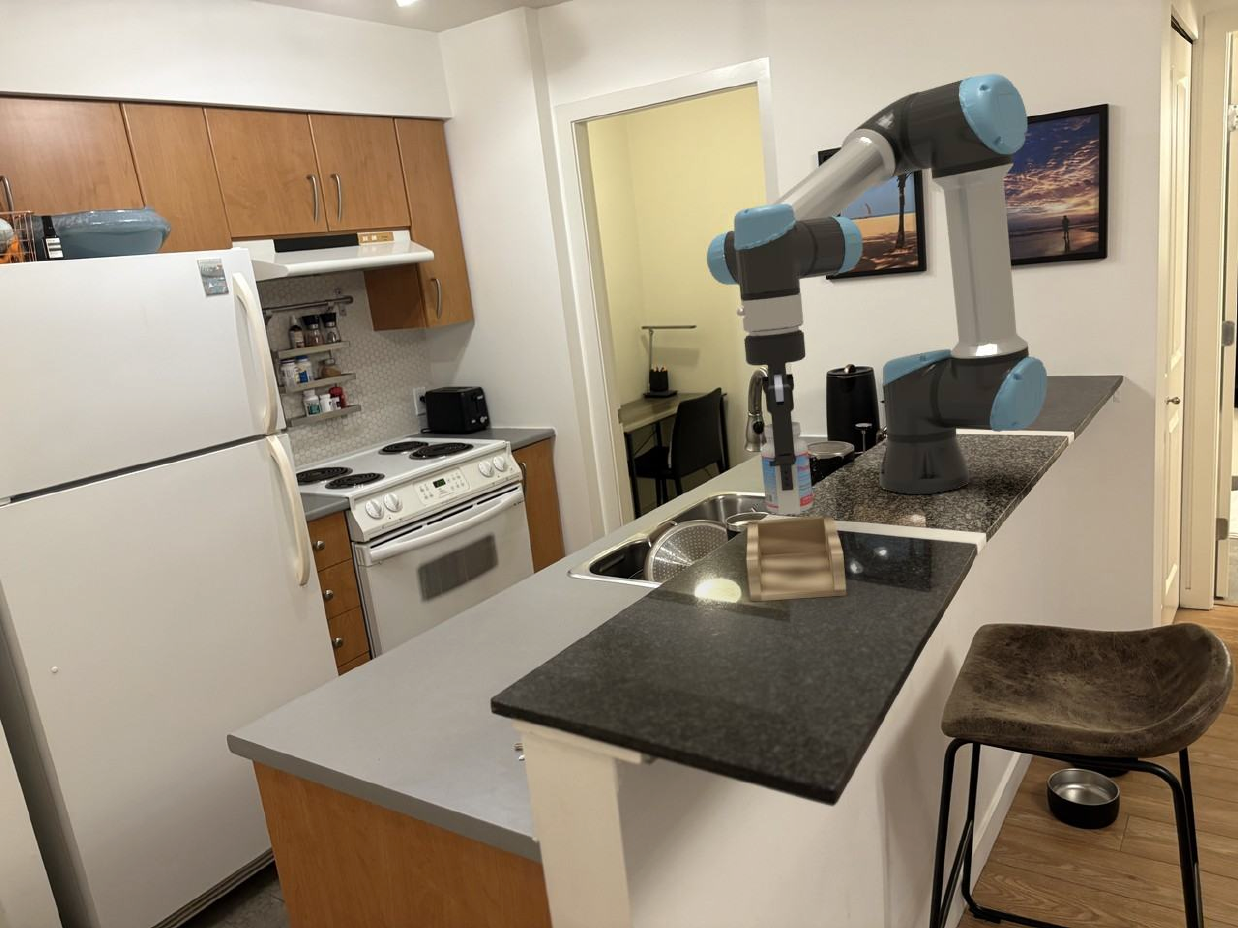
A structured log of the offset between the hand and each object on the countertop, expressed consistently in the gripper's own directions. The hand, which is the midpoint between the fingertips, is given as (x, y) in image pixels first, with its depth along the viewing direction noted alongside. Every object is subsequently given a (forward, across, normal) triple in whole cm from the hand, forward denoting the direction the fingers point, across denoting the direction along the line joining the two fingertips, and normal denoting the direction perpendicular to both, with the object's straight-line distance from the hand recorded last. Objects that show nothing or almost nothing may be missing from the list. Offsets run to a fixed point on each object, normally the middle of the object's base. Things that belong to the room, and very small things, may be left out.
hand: (788, 506), depth 122 cm
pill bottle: (0, 0, 0) cm, 1 cm away
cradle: (+10, -2, 0) cm, 10 cm away
